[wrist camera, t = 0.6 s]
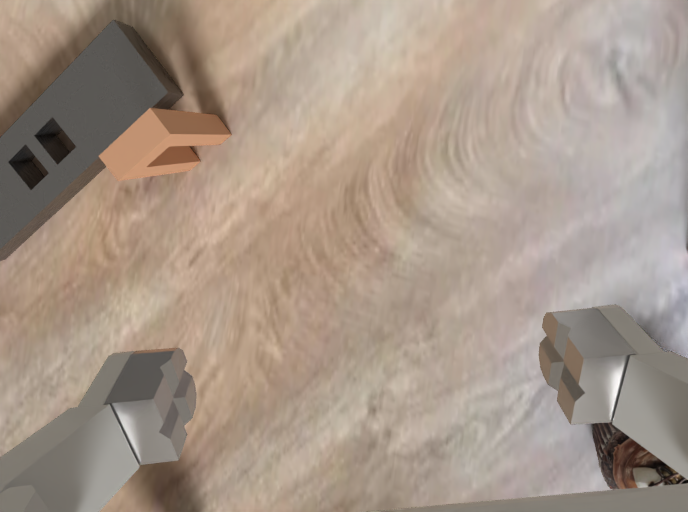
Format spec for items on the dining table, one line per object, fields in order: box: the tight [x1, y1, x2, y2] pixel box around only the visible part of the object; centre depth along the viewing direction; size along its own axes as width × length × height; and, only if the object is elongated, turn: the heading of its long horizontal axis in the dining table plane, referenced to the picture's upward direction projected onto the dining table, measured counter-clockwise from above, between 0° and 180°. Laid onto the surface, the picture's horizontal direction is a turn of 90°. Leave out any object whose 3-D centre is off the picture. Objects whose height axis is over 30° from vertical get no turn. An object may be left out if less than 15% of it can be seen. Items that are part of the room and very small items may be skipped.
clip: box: [99, 108, 231, 181], centre depth 42 cm, size 2×6×12 cm, turn 127°
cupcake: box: [593, 422, 688, 490], centre depth 43 cm, size 10×10×10 cm
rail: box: [0, 20, 183, 261], centre depth 49 cm, size 8×30×3 cm, turn 127°
